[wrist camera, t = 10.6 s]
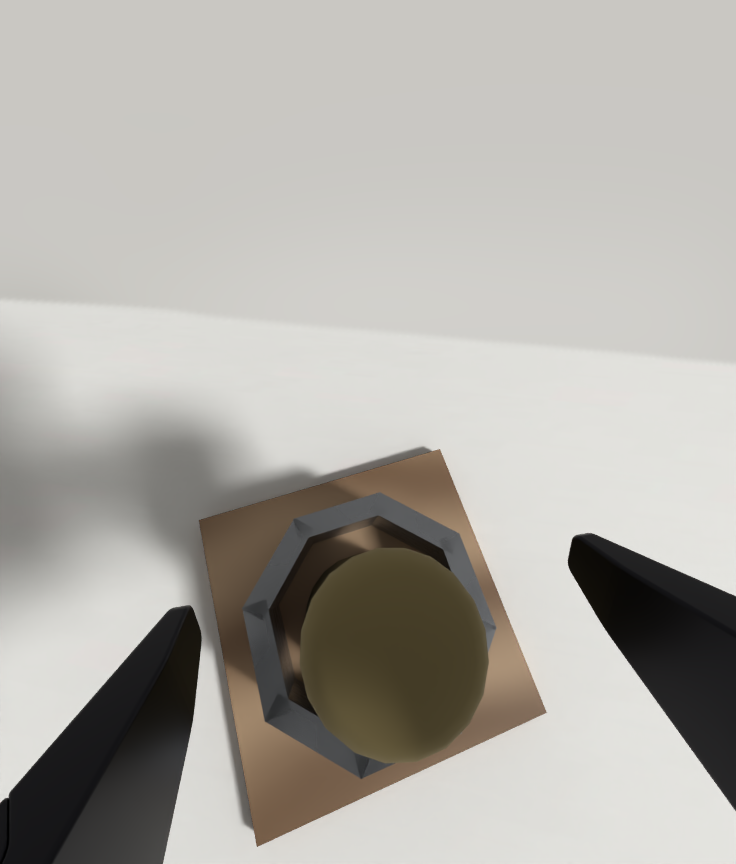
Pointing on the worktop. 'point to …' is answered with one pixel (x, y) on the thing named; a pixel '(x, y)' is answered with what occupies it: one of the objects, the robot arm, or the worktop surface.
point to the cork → (393, 654)
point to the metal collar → (261, 610)
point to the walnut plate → (232, 585)
